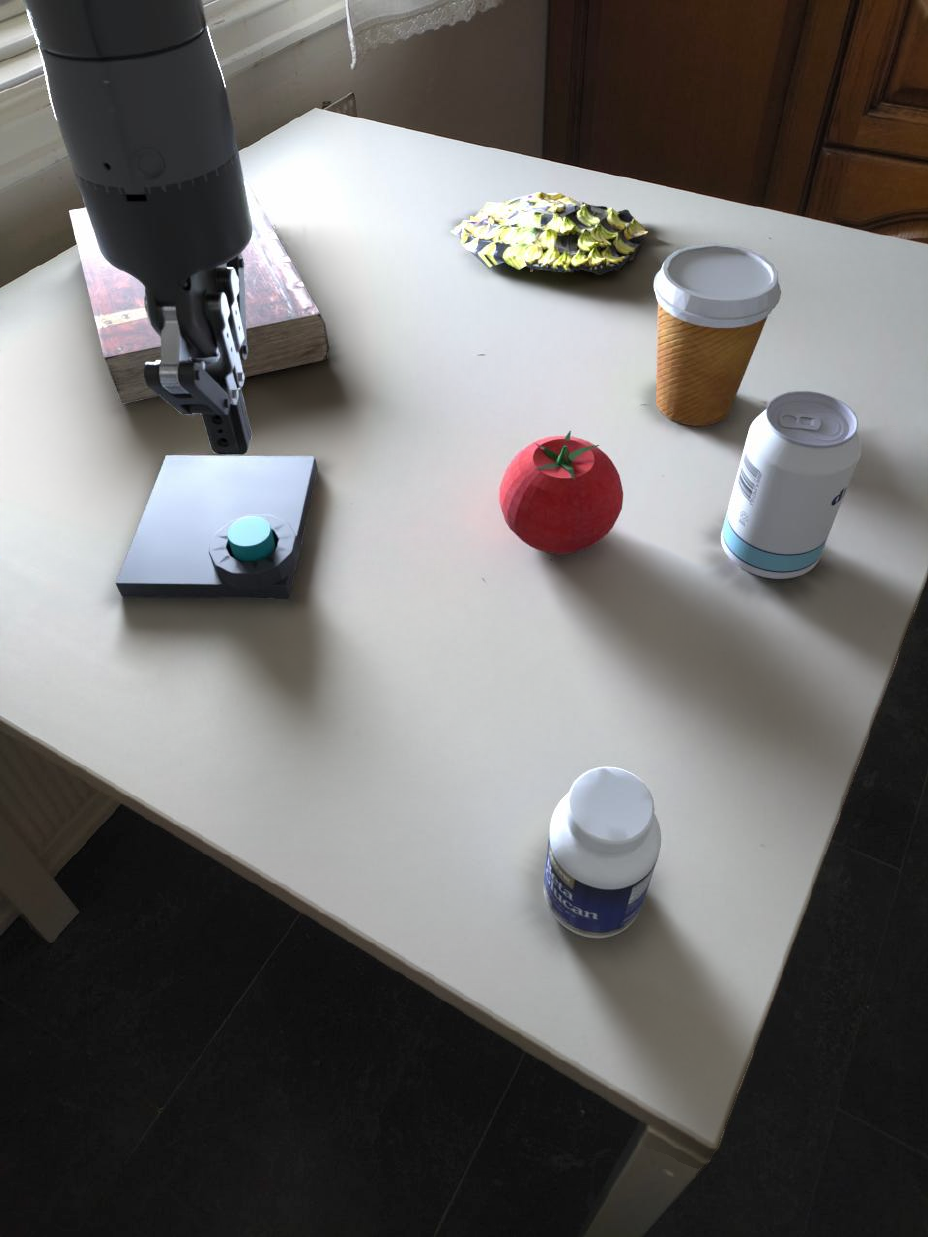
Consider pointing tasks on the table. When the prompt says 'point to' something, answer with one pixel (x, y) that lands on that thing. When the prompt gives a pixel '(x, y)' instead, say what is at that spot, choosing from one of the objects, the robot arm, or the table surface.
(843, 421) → the beverage can
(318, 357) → the hardback book
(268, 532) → the button
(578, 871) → the pill bottle
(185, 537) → the scale
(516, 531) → the tomato
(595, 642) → the table surface
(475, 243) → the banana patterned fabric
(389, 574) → the table surface
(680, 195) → the table surface
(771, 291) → the disposable coffee cup
